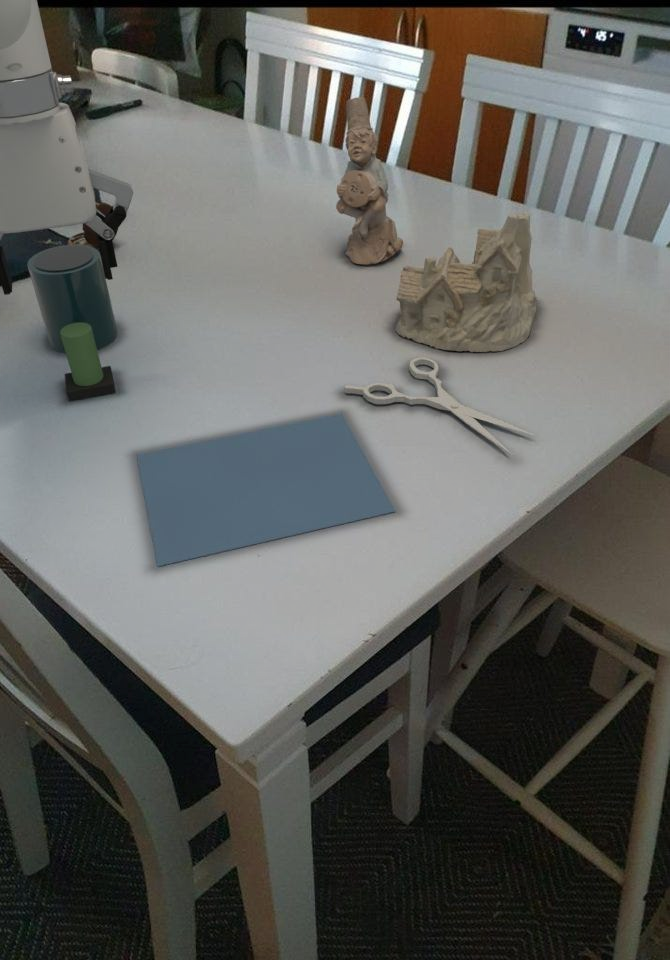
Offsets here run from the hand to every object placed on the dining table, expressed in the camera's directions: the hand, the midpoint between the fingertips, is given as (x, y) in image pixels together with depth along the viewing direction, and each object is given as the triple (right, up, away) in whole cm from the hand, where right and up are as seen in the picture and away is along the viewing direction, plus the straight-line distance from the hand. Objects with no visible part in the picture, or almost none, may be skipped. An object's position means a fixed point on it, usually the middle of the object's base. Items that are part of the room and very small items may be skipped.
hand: (59, 281), depth 80 cm
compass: (-9, +13, +37) cm, 41 cm away
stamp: (+1, -10, +9) cm, 13 cm away
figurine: (+32, +12, +33) cm, 48 cm away
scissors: (+39, -13, +3) cm, 41 cm away
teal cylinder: (-3, -2, +17) cm, 18 cm away
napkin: (+20, -20, -5) cm, 29 cm away
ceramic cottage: (+44, 0, +18) cm, 47 cm away
